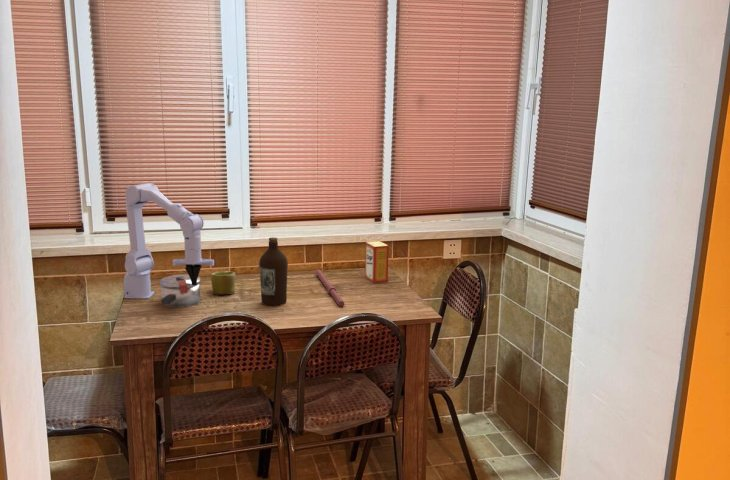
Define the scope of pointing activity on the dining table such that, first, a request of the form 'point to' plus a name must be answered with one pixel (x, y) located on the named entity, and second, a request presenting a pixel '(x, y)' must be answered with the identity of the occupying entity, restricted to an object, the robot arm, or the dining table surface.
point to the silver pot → (180, 296)
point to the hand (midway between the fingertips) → (194, 284)
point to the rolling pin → (330, 288)
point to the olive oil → (273, 275)
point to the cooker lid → (178, 282)
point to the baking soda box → (376, 261)
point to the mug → (223, 282)
